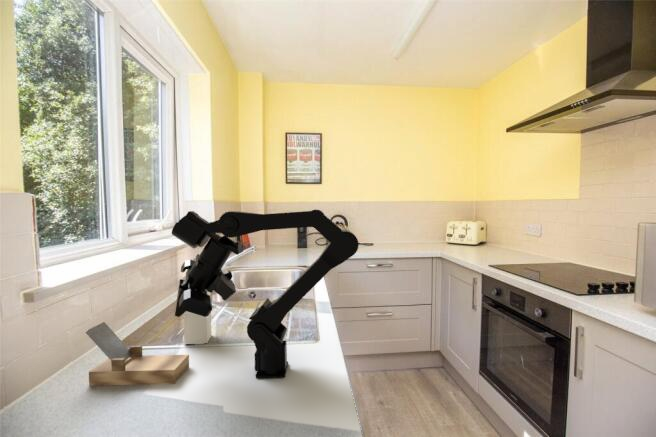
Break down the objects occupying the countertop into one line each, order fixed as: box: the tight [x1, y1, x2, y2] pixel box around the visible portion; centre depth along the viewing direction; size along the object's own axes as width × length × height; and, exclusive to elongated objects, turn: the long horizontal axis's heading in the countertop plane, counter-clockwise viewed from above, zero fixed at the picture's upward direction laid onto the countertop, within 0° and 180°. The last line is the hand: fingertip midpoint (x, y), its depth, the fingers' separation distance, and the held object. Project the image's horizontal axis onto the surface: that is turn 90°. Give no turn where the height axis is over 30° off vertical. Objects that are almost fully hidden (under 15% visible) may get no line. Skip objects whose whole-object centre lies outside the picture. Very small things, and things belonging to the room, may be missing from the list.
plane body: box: [88, 345, 190, 387], centre depth 69 cm, size 18×7×5 cm, turn 91°
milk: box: [182, 274, 212, 346], centre depth 88 cm, size 6×6×22 cm
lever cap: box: [85, 321, 133, 361], centre depth 69 cm, size 2×5×10 cm
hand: (176, 315), depth 71 cm, fingers closed
